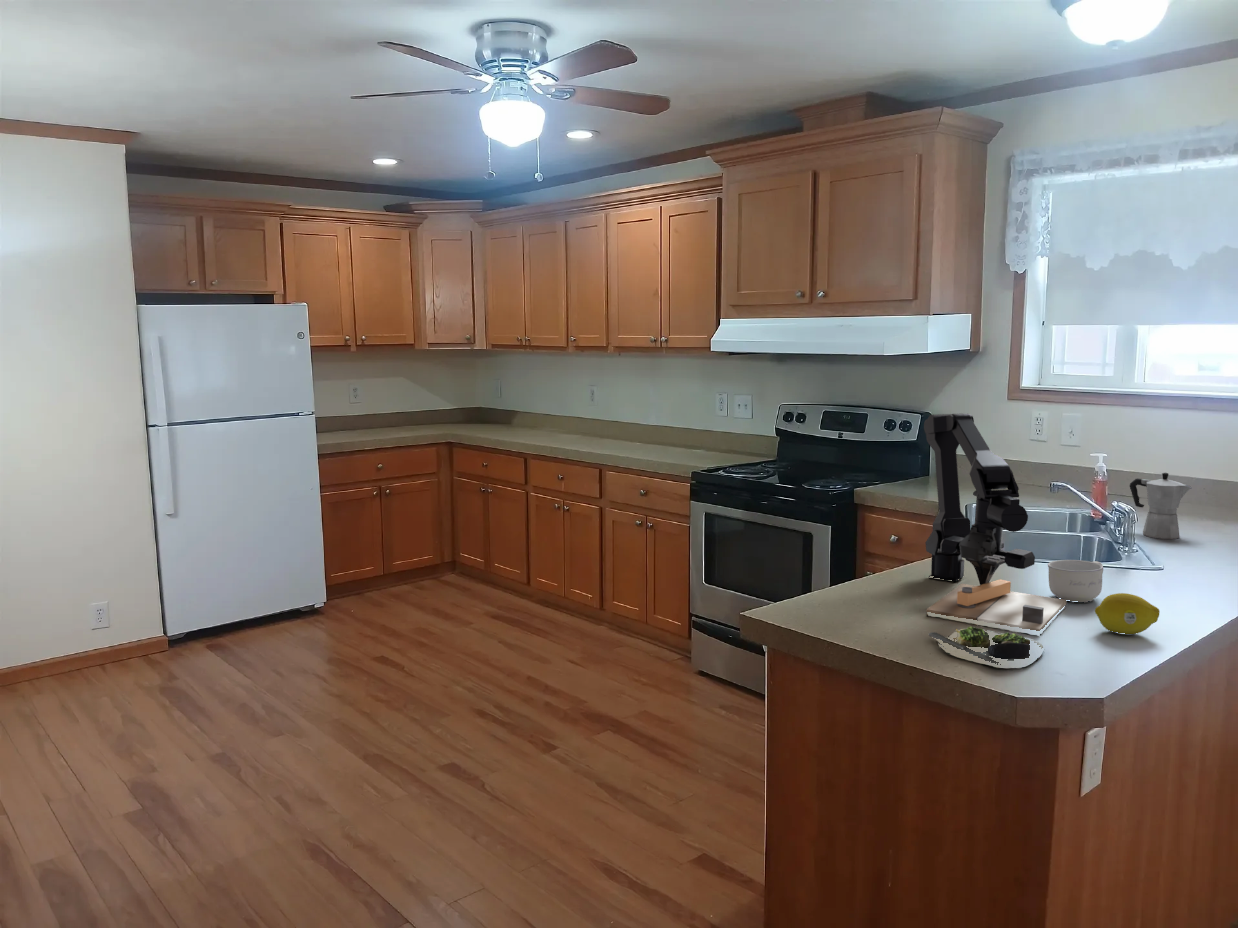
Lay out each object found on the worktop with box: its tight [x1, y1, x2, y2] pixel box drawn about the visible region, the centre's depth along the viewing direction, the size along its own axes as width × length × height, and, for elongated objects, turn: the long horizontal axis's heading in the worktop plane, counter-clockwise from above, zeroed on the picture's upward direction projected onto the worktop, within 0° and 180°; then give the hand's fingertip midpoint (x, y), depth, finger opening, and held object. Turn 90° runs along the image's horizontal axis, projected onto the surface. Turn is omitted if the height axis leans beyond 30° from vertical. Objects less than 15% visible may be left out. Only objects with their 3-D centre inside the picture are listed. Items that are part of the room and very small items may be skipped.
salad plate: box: [928, 625, 1044, 665], centre depth 167 cm, size 19×18×5 cm
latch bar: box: [957, 579, 1012, 606], centre depth 192 cm, size 16×2×3 cm, turn 125°
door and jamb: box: [926, 583, 1067, 631], centre depth 189 cm, size 22×23×4 cm
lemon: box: [1094, 592, 1160, 635], centre depth 174 cm, size 11×8×8 cm
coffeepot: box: [1129, 472, 1192, 540], centre depth 253 cm, size 15×9×18 cm, turn 44°
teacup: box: [1047, 559, 1104, 603], centre depth 197 cm, size 14×11×8 cm
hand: (983, 589), depth 196 cm, fingers closed
